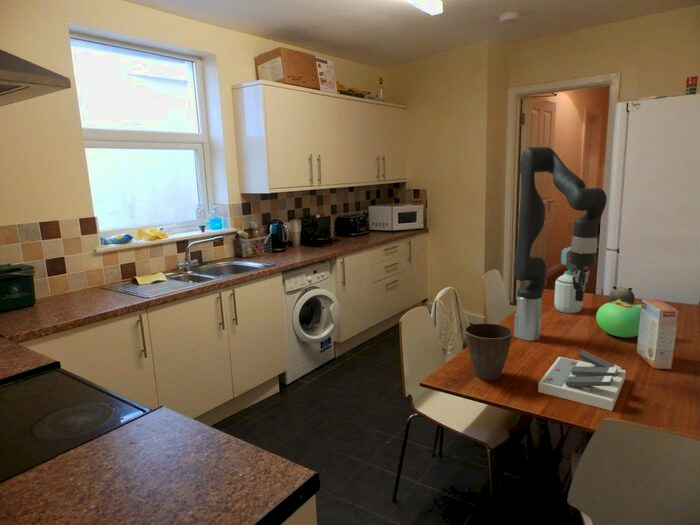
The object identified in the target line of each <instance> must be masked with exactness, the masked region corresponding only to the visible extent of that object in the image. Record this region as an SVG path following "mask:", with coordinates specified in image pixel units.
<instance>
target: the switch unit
mask: <svg viewBox="0 0 700 525" xmlns="http://www.w3.org/2000/svg"><path fill="white" fill-rule="evenodd" d="M574 366H581V367H597V366H595V365H593V364H591V363H589V362H587V361H584V360H583V361H582V360H577V359H572V358H568V357H562V356H558V357H557V358H556V359H555V361H554V362H553V364H552V365H551V366H550V367H549V368H548V369H547V371H546V372H545V374H544V375H543V376H542V378H541V379H540V380H539V382H538V383H537V384H538V385H537V386H538V388H537V390H538V391H537V392H538V393H542V394H545V395H549V396H552V397H553V396H554V397H557V398H561V399H565V400H567V401H568V400H569V401H573V402H576V403H581V404H583V405H584V404H585V405H587V406H592V407H596V408H600V409H604V410H607V411H611V412H613V410H614V406H615V405H616V402H617V400H618V398H619V394H620V392H621V389H622V387H623V385H624V382H625V379H626V370H625V369H622V368H621V369H620V372H619V374H618V376H616V377H613V382H612V384H611V386H566V384H565V381H566V380H567V378H568V377H578V376H585V375H572V372H571V371H572V369H573V368H574Z"/></svg>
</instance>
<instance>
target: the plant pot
mask: <svg viewBox="0 0 700 525" xmlns="http://www.w3.org/2000/svg"><path fill="white" fill-rule="evenodd" d="M464 333H465V340H466V346H467V350H468V353H469V357H470V362H471V364H472V368H473V371H474V373H475V375H476V377H477V378H478V379H480V380H484V381H496V380H498V379H499V378H500V377H501V374H502V372H503V369H504V366H505V364H506V361H507V358H508V355H509V353H510V352H509V351H510V347H511V343H512V337H513V330H512V329H510V328H509V327H508V326H505V325H502V324H496V323H488V322H487V323H483V322H482V323H480V322H479V323H472V324H470V325H467V326H466V327H465V328H464Z"/></svg>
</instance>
